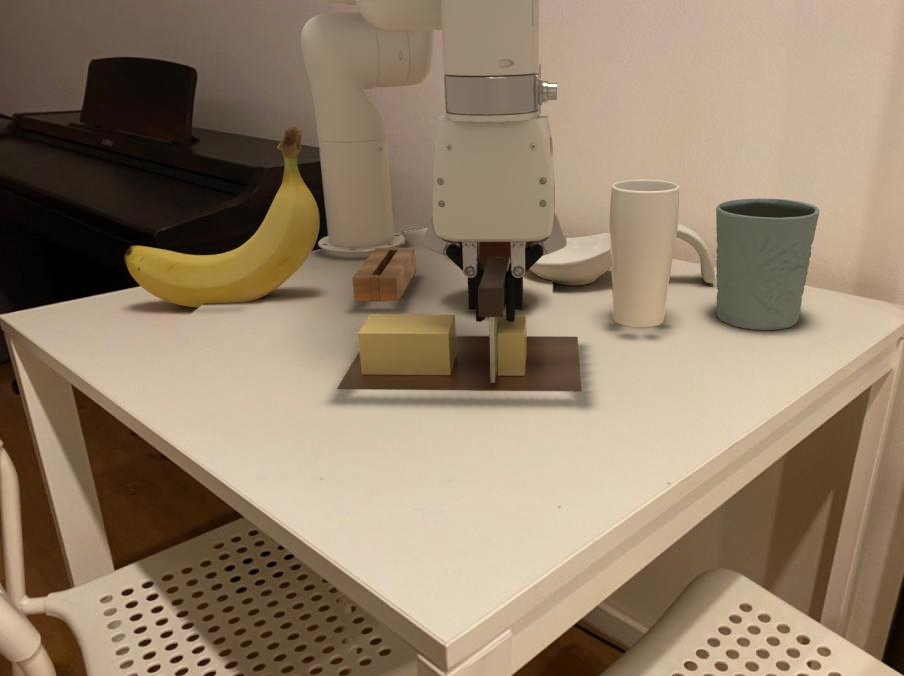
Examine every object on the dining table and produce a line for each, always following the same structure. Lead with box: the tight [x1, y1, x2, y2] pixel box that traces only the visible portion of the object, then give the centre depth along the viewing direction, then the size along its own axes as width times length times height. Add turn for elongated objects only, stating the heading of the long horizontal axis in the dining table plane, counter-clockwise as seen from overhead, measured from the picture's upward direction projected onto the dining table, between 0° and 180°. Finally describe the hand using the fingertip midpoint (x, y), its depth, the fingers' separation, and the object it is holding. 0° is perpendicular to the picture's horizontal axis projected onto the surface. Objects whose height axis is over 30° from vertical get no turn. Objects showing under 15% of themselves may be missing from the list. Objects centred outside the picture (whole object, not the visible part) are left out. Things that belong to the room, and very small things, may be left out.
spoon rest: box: [529, 223, 715, 286], centre depth 100 cm, size 24×12×7 cm, turn 85°
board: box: [336, 335, 583, 393], centre depth 74 cm, size 13×21×1 cm, turn 87°
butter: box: [357, 313, 457, 375], centre depth 73 cm, size 5×8×4 cm, turn 87°
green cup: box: [715, 198, 820, 331], centre depth 85 cm, size 10×10×12 cm
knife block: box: [351, 247, 417, 302], centre depth 97 cm, size 13×5×4 cm, turn 176°
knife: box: [478, 256, 510, 383], centre depth 71 cm, size 11×2×8 cm, turn 176°
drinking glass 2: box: [608, 179, 681, 328], centre depth 82 cm, size 7×7×15 cm
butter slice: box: [497, 314, 528, 376], centre depth 72 cm, size 5×2×4 cm, turn 176°
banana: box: [124, 126, 321, 309], centre depth 90 cm, size 23×6×20 cm, turn 91°
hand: (496, 315), depth 71 cm, fingers closed on knife, 2 cm apart
